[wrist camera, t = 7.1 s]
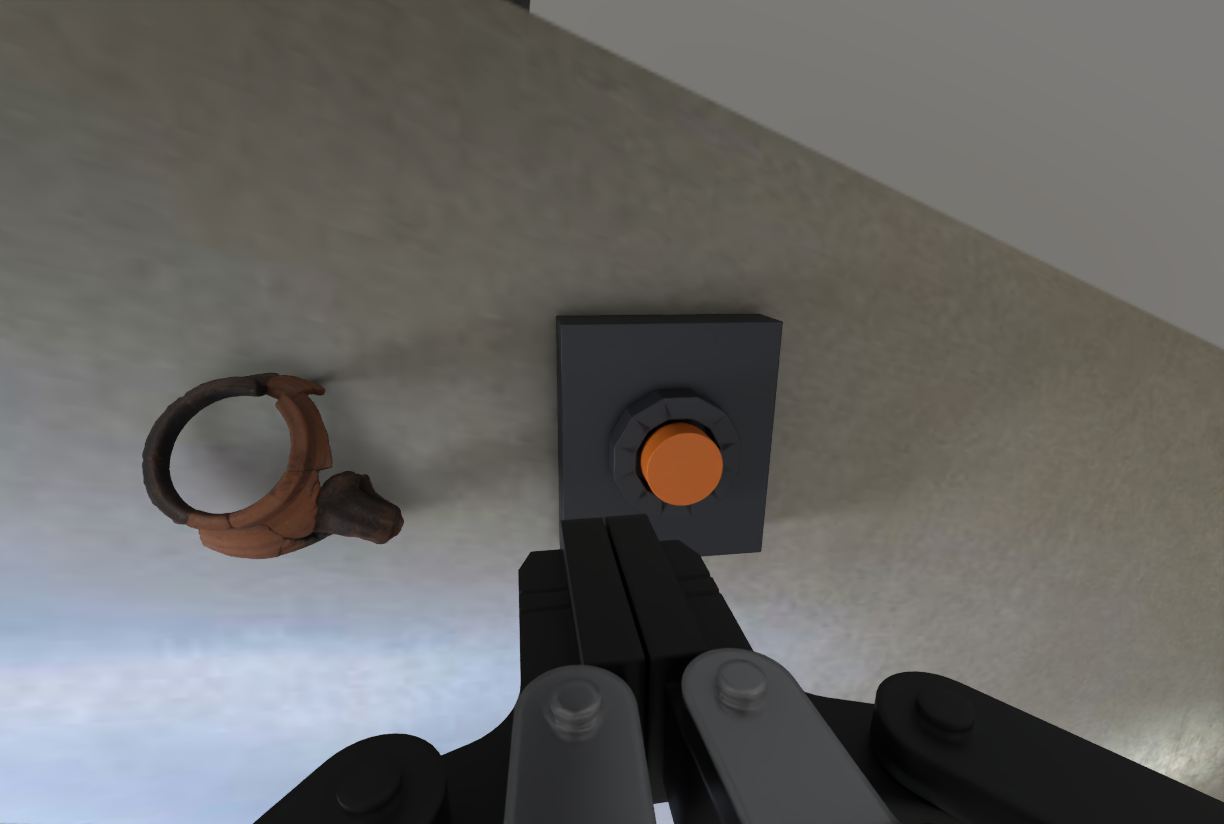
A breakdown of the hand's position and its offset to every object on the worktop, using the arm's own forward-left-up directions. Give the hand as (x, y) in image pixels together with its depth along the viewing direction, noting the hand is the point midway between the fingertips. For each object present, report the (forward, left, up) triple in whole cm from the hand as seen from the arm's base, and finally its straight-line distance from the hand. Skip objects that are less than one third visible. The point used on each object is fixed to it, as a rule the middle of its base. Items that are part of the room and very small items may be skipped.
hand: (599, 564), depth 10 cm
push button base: (+6, +7, -24) cm, 26 cm away
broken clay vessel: (+7, -13, -25) cm, 29 cm away
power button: (+6, +7, -20) cm, 22 cm away
